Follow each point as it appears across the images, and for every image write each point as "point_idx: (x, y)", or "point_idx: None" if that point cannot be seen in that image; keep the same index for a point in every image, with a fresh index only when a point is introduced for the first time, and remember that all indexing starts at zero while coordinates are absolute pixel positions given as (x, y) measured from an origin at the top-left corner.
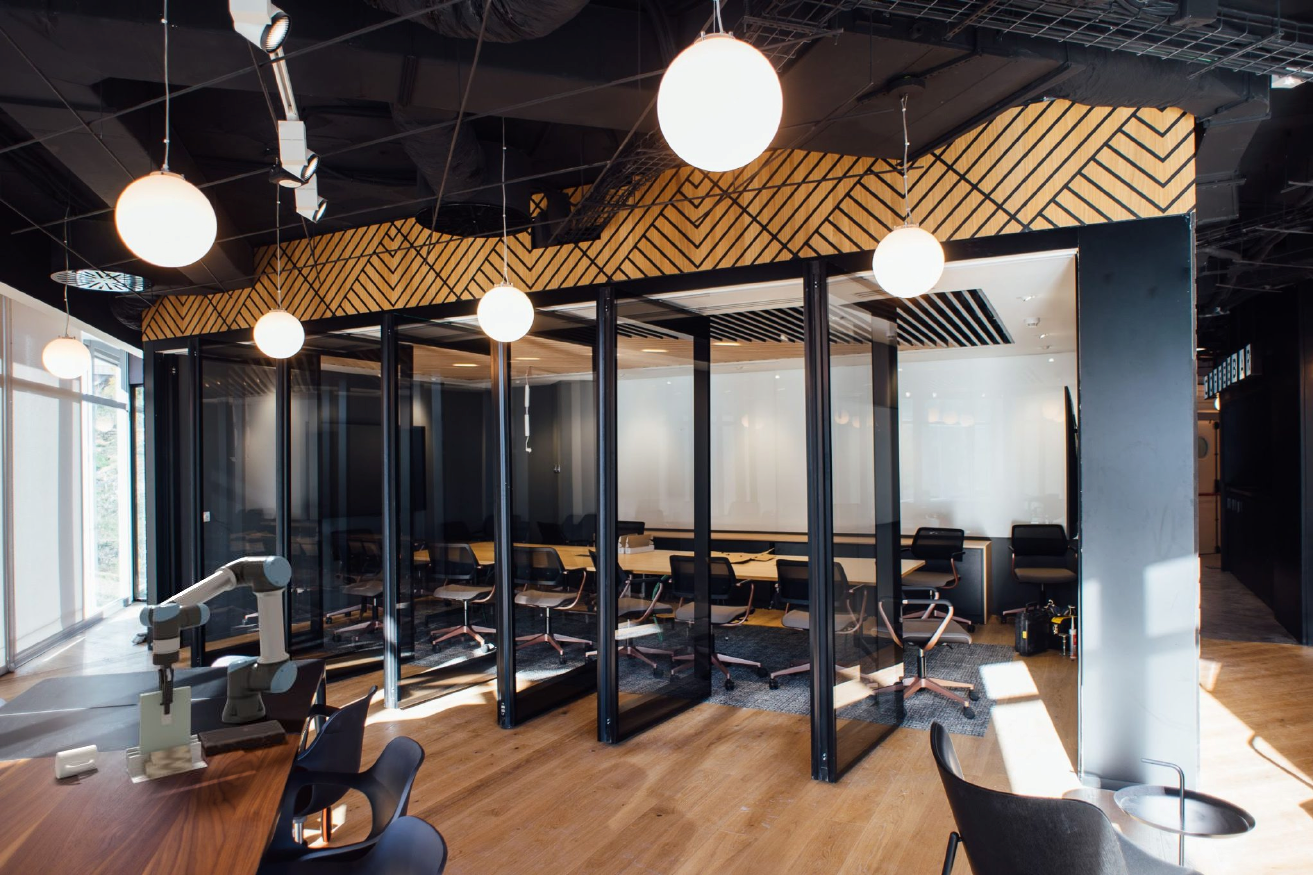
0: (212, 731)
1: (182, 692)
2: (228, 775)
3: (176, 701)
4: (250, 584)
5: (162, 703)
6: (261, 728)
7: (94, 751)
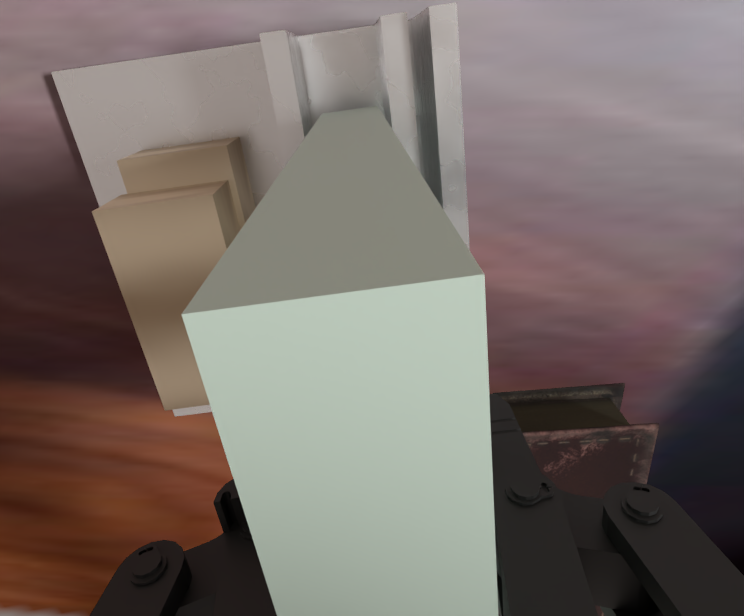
0: (636, 478)
1: None
2: (34, 471)
3: None
4: None
5: (241, 523)
6: None
7: None
